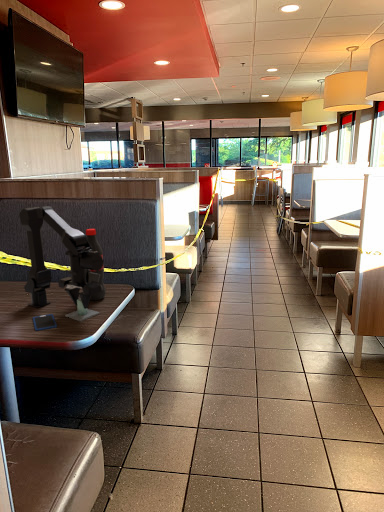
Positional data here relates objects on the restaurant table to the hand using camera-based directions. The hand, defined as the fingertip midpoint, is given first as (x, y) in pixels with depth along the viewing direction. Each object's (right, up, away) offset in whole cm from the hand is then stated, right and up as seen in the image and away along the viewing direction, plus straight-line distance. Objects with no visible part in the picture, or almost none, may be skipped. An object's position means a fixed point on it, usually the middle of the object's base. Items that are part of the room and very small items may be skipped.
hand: (81, 307), depth 150 cm
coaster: (0, -3, +1) cm, 3 cm away
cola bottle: (+1, +1, +20) cm, 20 cm away
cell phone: (-12, -5, -5) cm, 14 cm away
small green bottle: (0, -2, +1) cm, 3 cm away
